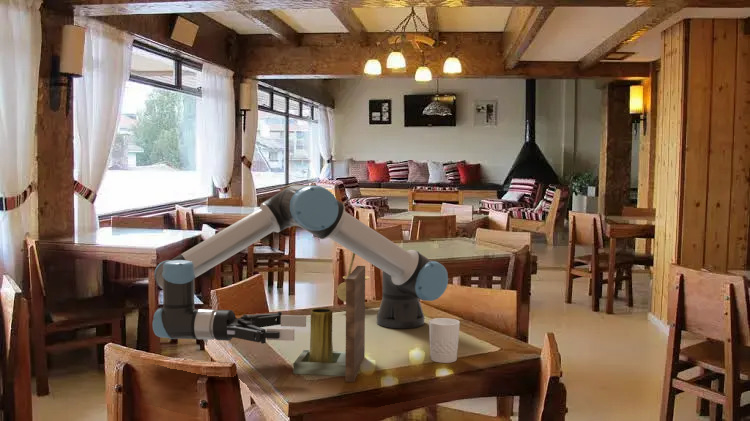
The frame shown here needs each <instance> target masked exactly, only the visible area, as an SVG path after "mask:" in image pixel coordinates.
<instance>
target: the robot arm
mask: <svg viewBox="0 0 750 421" xmlns="http://www.w3.org/2000/svg"><path fill="white" fill-rule="evenodd" d="M291 227H300V228H301V229H303V230H305V231H307V232H308V233H310V234H311V235H313V236H315V237H316V238H318V239H319V240H326V239H328V238H329V239H330V240H332V241H334V242H335V243H336V244H339V245H340V246H342V247H343V248H345V249H346V250H348V251H350V252H352V254H353V253H355V256H358V257H360V258H361V259H363V260H365V261H366V262H368V263H369V264H371V265H373V266H374V267H376V268H378V269H380V270H381V271H382V299H381V302H380V306H379V309H378V311H377V316H376V324H377V325H379V326H381V327H384V328H392V329H412V328H413V329H414V328H419V327H422V326H424V324H425V315H424V311H423V308H422V305H421V302H420V300H422V301H424V302H425V301H427V302H432V301H433V302H434V301H435V300H438V299H439V298H441V297H442V296H443V294H444V293H445V292H446V290H447V287H448V283H449V276H448V274H449V273H448V270H447V268H446V267H445V266H444V265H443V264H442V263H440V262H438V261H435V260H431V259H429V258H427V257H426V256H424V255H423V254H421V253H420V252H419V251H418V250H416V249H409V250H406V249H404V248H403V247H401V246H399V245H398V244H396V243H395V242H393V241H392V240H390V239H389V238H387V237H386V236H384V235H382V234H381V233H380V232H378V231H377V230H375V229H373V228H371V226H369V225H367V224H365V223H364V222H362V221H361V220H359V218H358V219H357V218H356V217H355V216H353V215H352V214H350V213H348V212H347V211H346V208H345V204H344V203H343V202H341V201H340V200H339V199H337V198H336V197H335V195H334V194H333V193H332V192H331V191H330V190H329V189H327V188H325V187H323V186H320V185H317V184H316V185H315V184H311V185H310V184H309V185H303V184H293V185H291V186H288V187H285V188H284V189H283V190H281V191H279V192H278V193H276V194H274V195H273V196H271V197H270V198H268V199H266V200H265V201H263V202H261V203H260V206H259V208H258V209H256V210H255V211H253V212H251V213H250V214H247V215H246V216H245V217H243V218H241V219H239V220H237V221H236V222H234V223H232V224H231V225H229V226H227V227H226V228H224V229H222V230H220V231H219V232H217V233H215V234H213V235H211V236H210V237H208V238H206V239H205V240H203V241H201V242H199V243H198V244H196V245H194V246H193V247H191V248H189V249H187V250H186V251H184V252H182V253H180V254H179V255H177V256H176V257H173V258H171V259H170V260H167V259H166V260H164V261H161V262H160V263H159V264H158V265H157V266H156V268H155V269H154V273H153V274H154V280H155V284H156V285H157V286H158V287H160V289H161V290H162V295H163V296H162V301H163V303H162V304H163V306H162V307H159V308H157V309H156V311H155V312H154V313H153V314H154V315H153V320H152V331H153V333H154V335H155V336H157V337H158V338H163V339H164V338H165V339H171V340H180V339H181V340H203V342H208V341H211V340H213V341H214V340H216V341H228V342H229V341H231V340H232V339H233V338H234V339H240V340H244V341H250V342H253V343H254V342H255V343H261V344H266V343H267V341H286V342H287V341H288V342H289V341H290V342H291V341H292V342H294V341H295V328H285V327H297V328H298V327H299V328H303V327H304V328H307V315H296V314H295V315H292V314H291V315H290V314H289V315H288V314H282V311H278V312H275V313H273V312H272V313H271V312H270V313H261V314H259V313H258V314H243V315H242V316H240V317H236V315H235V312H234V310H232V309H219V310H217V309H215V308H214V309H213V308H211V309H210V308H195V279H196V278H197V277H199V276H201V275H202V274H204V273H206V272H208V271H209V270H210V269H212V268H214V267H216V266H217V265H220V264H221V263H223V262H224V261H226V260H227V259H230V258H231V257H232V256H235V255H236V254H238V253H240V252H242V251H243V250H244V249H246V248H248V247H250V246H251V245H253V244H254V243H256V242H258V241H260V240H261V239H263V238H265V237H267V236H268V235H270V234H271V233H280V232H281V231H284V230H285V229H287V228H291ZM272 326H273V327H272ZM274 326H280V327H283V328H280V327H274Z"/></svg>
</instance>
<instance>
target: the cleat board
mask: <svg viewBox="0 0 750 421" xmlns="http://www.w3.org/2000/svg"><path fill="white" fill-rule="evenodd" d="M365 276H366V265H357V266H356V267H355V268H354V269H353V270H352V271H351V274H350V275H349V276H348V277H347V278H346V280H345V282H346V302H345V351H338V350H337V351H334V350H333V363H318V362H309V358H310V349H303V350H302V352H301V353H300V354H299V356H298V357H297V358H296V360H295V361H294V362H293V364H292V366H293V368H292V369H293V373H292V374H294V375H298V374H299V375H311V376H312V375H317V376H318V375H319V376H335V377H336V376H338V377H339V376H340V377H344V378H345V383H355V381H356V378H357V376H358V374H359V371H360V369H361V366H362V364H363V362H364V359H365V354H366V352H365V351H366V350H365V348H366V347H365V346H366V345H365V343H366V342H365V341H366V340H365V339H366V337H365V335H366V334H365V333H366V332H365V331H366V330H365V329H366V328H365V327H366V324H365V323H366V280H365Z"/></svg>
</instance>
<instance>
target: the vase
mask: <svg viewBox="0 0 750 421" xmlns="http://www.w3.org/2000/svg"><path fill="white" fill-rule="evenodd" d="M309 334H310V335H309V336H310V337H309V340H310V341H309V350H310V358H309V362H318V363H333V351H334V350H333V310H332V309H331V308H326V307H324V308H323V307H318V308H317V307H316V308H313V309H311V310H310V333H309Z"/></svg>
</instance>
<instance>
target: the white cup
mask: <svg viewBox="0 0 750 421" xmlns="http://www.w3.org/2000/svg"><path fill="white" fill-rule="evenodd" d="M460 323H461V322H460V320H458V319H455V318H449V317H435V318H432V319H428V327H429V328H428V333H429V334H428V335H429V350H430V359H431V361H432V362H436V363H439V364H441V363H442V364H449V363H450V364H451V363H454V362H456V361H457V360H458V349H459V342H460V341H459V340H460V325H461V324H460Z"/></svg>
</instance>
